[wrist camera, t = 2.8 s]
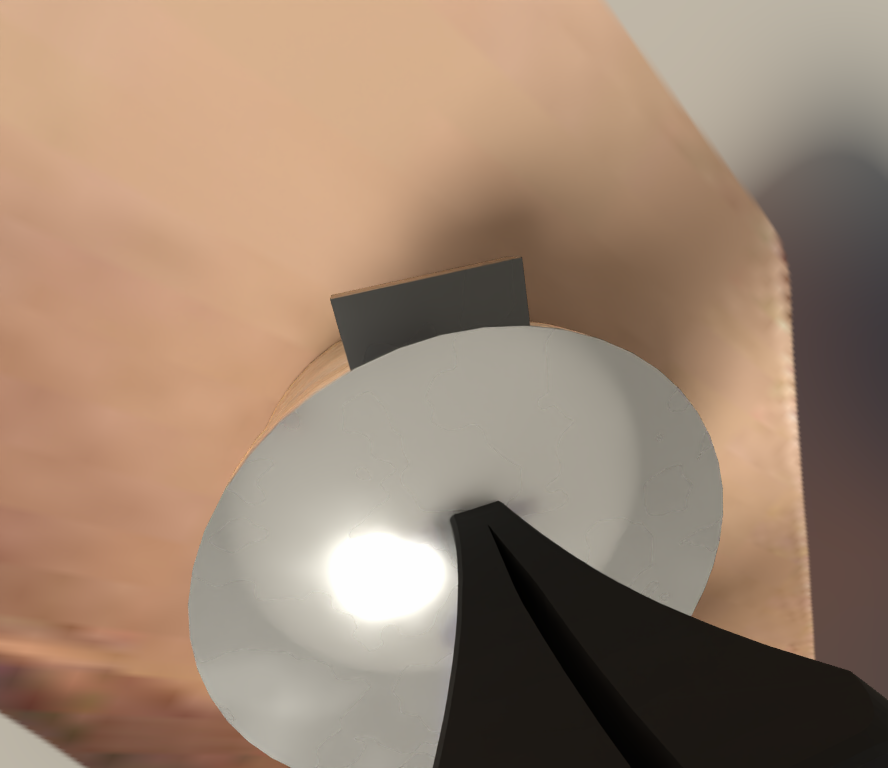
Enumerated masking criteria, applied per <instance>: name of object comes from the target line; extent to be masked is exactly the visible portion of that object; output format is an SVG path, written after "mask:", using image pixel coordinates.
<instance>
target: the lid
mask: <svg viewBox="0 0 888 768" xmlns="http://www.w3.org/2000/svg"><path fill="white" fill-rule="evenodd" d="M330 300H331V304H332V307H333V311H334V314H335V318H336V322H337V325H338V329H339V332H340V336H341V339H342V343H343V346H344V350H345V353H346V357H347V360H348V362H346V363H345V364H343V365H342V366H340V367H338V368H337V369H335V370H334V371H332V372H330V373H329V374H327V375H326V376H324V377H322V378H321V379H319V380H318V381H317V382H315V383H314V384H313V385H312V386H310V387H309V388H308V389H307V390H306V391H304V392H303V393H302V394H301V395H300V396H298V397H297V398H296V399H295V400H293V401H292V402H291V403H290V404H289V405H287V406H286V407H285V408H284V409H283V410H282V411H281V412H280V413H279V415H278V416H277V417H276V418H275V419H274V420H273V421H272V422H271V423H270V424H269V425H268V426H267V427H266V429H265V430H264V431H263V432H262V433H261V434H260V435H259V436H258V437H257V439H256V440H255V441H254V443H253V444H252V446H251V447H250V449H249V450H248V451H247V453H246V454H245V456H244V457H243V459H242V460H241V462H240V463H239V464H238V466H237V467H236V469H235V470H234V472H233V474H232V476H231V478H230V480H229V482H228V484H227V486H226V488H225V490H224V492H223V494H222V496H221V498H220V500H219V502H218V504H217V506H216V509H215V511H214V513H213V515H212V517H211V519H210V521H209V523H208V525H207V527H206V529H205V531H204V534H203V537H202V541H201V544H200V547H199V550H198V553H197V557H196V560H195V563H194V566H193V571H192V579H191V587H190V594H189V602H188V610H189V629H190V640H191V644H192V648H193V652H194V657H195V661H196V665H197V669H198V671H199V673H200V675H201V678H202V680H203V682H204V684H205V686H206V688H207V691H208V693H209V695H210V697H211V699H212V700H213V701H214V703H215V704H216V706H217V707H218V708H219V710H220V711H221V713H222V714H223V715H224V717H225V718H226V720H227V721H228V722H229V723H230V724H231V725H232V726H233V727H234V728H235V729H236V730H237V731H238V732H239V733H240V734H241V735H242V736H243V737H244V738H245V739H246V740H247V741H248V742H250V743H251V744H253V745H254V746H256V747H257V748H258V749H260V750H261V751H263V752H264V753H266V754H267V755H269V756H270V757H271V758H273V759H275V760H277V761H279V762H281V763H283V764H285V765H287V766H289V767H291V768H433V764H434V759H435V755H436V750H437V745H438V741H439V736H440V731H441V727H442V722H443V717H444V712H445V706H446V701H447V695H448V688H449V682H450V675H451V668H452V661H453V653H454V644H455V634H456V622H457V600H458V568H457V551H456V547H455V542H454V538H453V533H452V529H451V525H450V519H451V517H452V516H453V515H455V514H458V513H462V512H465V511H468V510H471V509H474V508H477V507H480V506H484V505H487V504H490V503H493V502H496V501H500V502H502V503H504V504H505V505H506V506H507V507H508V508H510V509H511V510H512V511H513V512H514V513H516V514H517V515H518V516H519V517H521V518H522V519H523V520H525V521H526V522H527V523H528V524H530V525H531V526H532V527H534V528H535V529H536V530H538V531H539V532H540V533H542V534H543V535H545V536H546V537H547V538H549V539H550V540H552V541H553V542H555V543H556V544H557V545H559V546H560V547H562V548H563V549H565V550H566V551H568V552H569V553H571V554H572V555H574V556H575V557H577V558H578V559H580V560H582V561H583V562H585V563H587V564H588V565H590V566H591V567H593V568H595V569H596V570H598V571H600V572H601V573H603V574H605V575H607V576H608V577H610V578H612V579H614V580H616V581H617V582H619V583H621V584H623V585H625V586H627V587H629V588H631V589H633V590H634V591H636V592H638V593H640V594H642V595H644V596H646V597H648V598H651V599H653V600H655V601H657V602H659V603H661V604H663V605H666V606H668V607H670V608H673V609H675V610H677V611H680V612H682V613H684V614H687V615H689V616H691V615H692V614H693V612H694V610H695V607H696V605H697V603H698V601H699V599H700V597H701V595H702V593H703V591H704V589H705V586H706V584H707V581H708V578H709V576H710V573H711V570H712V568H713V565H714V561H715V557H716V553H717V549H718V545H719V541H720V533H721V525H722V517H723V488H722V481H721V475H720V469H719V462H718V459H717V456H716V453H715V450H714V447H713V444H712V441H711V437H710V435H709V433H708V431H707V430H706V428H705V426H704V424H703V422H702V420H701V418H700V416H699V414H698V412H697V411H696V410H695V408H694V407H693V406H692V404H691V403H690V402H689V401H688V399H687V398H686V397H685V395H684V394H683V393H682V391H681V390H680V389H679V388H678V387H677V386H676V385H674V384H673V383H672V382H671V381H670V380H669V379H668V378H667V377H666V376H665V375H664V374H663V373H661V372H660V371H659V370H658V369H656V368H655V367H653V366H652V365H650V364H649V363H647V362H646V361H644V360H642V359H641V358H639V357H638V356H636V355H635V354H633V353H631V352H629V351H627V350H624V349H622V348H620V347H617V346H615V345H613V344H611V343H608V342H606V341H604V340H601V339H598V338H595V337H592V336H589V335H587V334H584V333H581V332H577V331H574V330H570V329H566V328H562V327H558V326H554V325H550V324H546V323H538V322H530V320H529V312H528V303H527V295H526V287H525V278H524V270H523V261H522V257H504V258H499V259H495V260H490V261H486V262H481V263H476V264H472V265H467V266H463V267H458V268H454V269H449V270H444V271H440V272H435V273H431V274H426V275H422V276H417V277H413V278H408V279H403V280H399V281H394V282H390V283H385V284H381V285H376V286H371V287H367V288H362V289H358V290H353V291H349V292H344V293H340V294H335V295H331V298H330Z"/></svg>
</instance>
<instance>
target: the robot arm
mask: <svg viewBox="0 0 888 768" xmlns="http://www.w3.org/2000/svg"><path fill="white" fill-rule="evenodd" d="M450 525H451V529H452V533H453V538H454V542H455V547H456V551H457V568H458V600H457V622H456V634H455V644H454V653H453V661H452V668H451V675H450V682H449V688H448V695H447V701H446V706H445V712H444V717H443V722H442V727H441V731H440V736H439V741H438V745H437V750H436V755H435V759H434V764H433V768H888V700H887V699H886V698H885V697H883V696H882V695H881V694H879V693H878V692H877V691H876V690H874V689H873V688H872V687H870V686H869V685H867V684H866V683H865V682H864V681H862V680H861V679H860V678H858V677H857V676H856V675H854V674H853V673H852V672H851V671H848V670H845V669H842V668H838V667H835V666H832V665H829V664H825V663H822V662H819V661H816V660H812V659H809V658H806V657H803V656H799V655H796V654H793V653H790V652H786V651H783V650H780V649H777V648H773V647H770V646H767V645H765V644H762V643H759V642H756V641H753V640H751V639H748V638H745V637H742V636H740V635H737V634H734V633H731V632H729V631H726V630H723V629H720V628H718V627H715V626H713V625H710V624H708V623H705V622H703V621H701V620H698V619H696V618H694V617H691V616H689V615H687V614H684V613H682V612H680V611H677V610H675V609H673V608H670V607H668V606H666V605H663V604H661V603H659V602H657V601H655V600H653V599H651V598H648V597H646V596H644V595H642V594H640V593H638V592H636V591H634V590H633V589H631V588H629V587H627V586H625V585H623V584H621V583H619V582H617V581H616V580H614V579H612V578H610V577H608V576H607V575H605V574H603V573H601V572H600V571H598V570H596V569H595V568H593V567H591V566H590V565H588V564H587V563H585V562H583V561H582V560H580V559H578V558H577V557H575V556H574V555H572V554H571V553H569V552H568V551H566V550H565V549H563V548H562V547H560V546H559V545H557V544H556V543H555V542H553V541H552V540H550V539H549V538H547V537H546V536H545V535H543V534H542V533H540V532H539V531H538V530H536V529H535V528H534V527H532V526H531V525H530V524H528V523H527V522H526V521H525V520H523V519H522V518H521V517H519V516H518V515H517V514H516V513H514V512H513V511H512V510H511V509H510V508H508V507H507V506H506V505H505V504H504V503H502V502H500V501H496V502H493V503H490V504H487V505H484V506H480V507H477V508H474V509H471V510H468V511H465V512H462V513H458V514H455V515H453V516H452V517H451V519H450Z"/></svg>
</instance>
